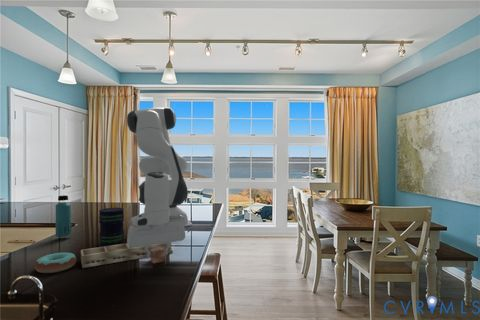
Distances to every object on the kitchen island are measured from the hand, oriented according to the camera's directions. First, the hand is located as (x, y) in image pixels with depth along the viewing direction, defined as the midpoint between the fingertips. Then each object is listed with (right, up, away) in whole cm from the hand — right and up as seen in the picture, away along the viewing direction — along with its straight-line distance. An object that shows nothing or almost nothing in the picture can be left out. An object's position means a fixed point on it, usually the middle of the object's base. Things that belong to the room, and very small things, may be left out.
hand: (157, 256), depth 105 cm
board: (-13, -2, +6) cm, 15 cm away
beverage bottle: (-53, -2, +31) cm, 61 cm away
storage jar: (-26, -2, +22) cm, 34 cm away
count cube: (0, -2, 0) cm, 2 cm away
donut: (-32, -2, -6) cm, 33 cm away
